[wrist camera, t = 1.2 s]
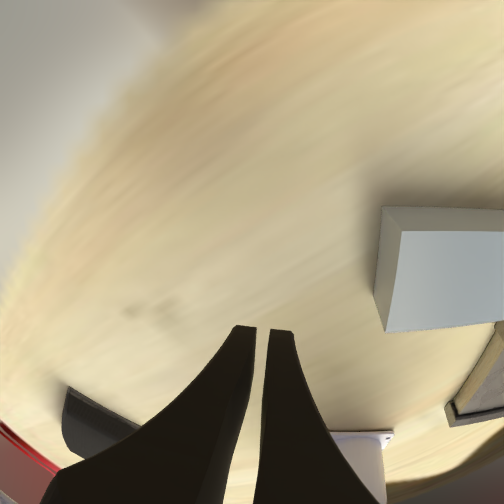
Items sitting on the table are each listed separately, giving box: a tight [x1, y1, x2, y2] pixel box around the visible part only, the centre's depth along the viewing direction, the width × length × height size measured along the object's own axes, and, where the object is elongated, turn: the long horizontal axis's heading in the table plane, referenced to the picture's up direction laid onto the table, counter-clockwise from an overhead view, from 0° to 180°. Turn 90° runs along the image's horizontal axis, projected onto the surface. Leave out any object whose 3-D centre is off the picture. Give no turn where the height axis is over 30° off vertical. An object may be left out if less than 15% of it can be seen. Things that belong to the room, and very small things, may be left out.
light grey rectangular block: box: [373, 206, 504, 333], centre depth 15 cm, size 6×10×4 cm, turn 95°
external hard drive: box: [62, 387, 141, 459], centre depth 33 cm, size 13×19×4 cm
